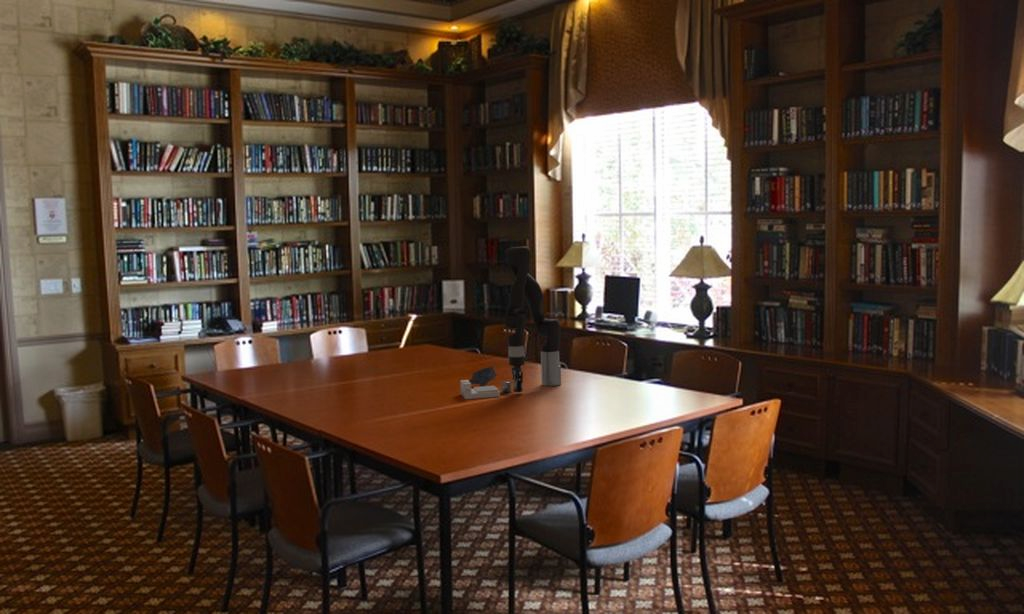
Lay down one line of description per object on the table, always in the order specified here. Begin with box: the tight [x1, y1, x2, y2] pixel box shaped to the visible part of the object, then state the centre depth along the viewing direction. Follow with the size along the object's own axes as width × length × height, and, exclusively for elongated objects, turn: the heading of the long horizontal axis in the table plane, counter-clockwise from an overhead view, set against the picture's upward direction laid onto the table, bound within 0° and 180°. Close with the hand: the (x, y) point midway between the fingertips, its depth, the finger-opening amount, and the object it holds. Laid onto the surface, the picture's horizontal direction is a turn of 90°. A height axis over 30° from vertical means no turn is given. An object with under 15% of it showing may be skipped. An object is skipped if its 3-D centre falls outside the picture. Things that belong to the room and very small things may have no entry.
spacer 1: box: [501, 381, 512, 394], centre depth 439 cm, size 4×4×5 cm
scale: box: [460, 379, 501, 400], centre depth 434 cm, size 17×13×7 cm
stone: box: [468, 365, 498, 387], centre depth 458 cm, size 14×6×10 cm, turn 117°
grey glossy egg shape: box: [512, 380, 524, 393], centre depth 434 cm, size 4×4×5 cm
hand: (518, 389), depth 435 cm, fingers closed on grey glossy egg shape, 4 cm apart
